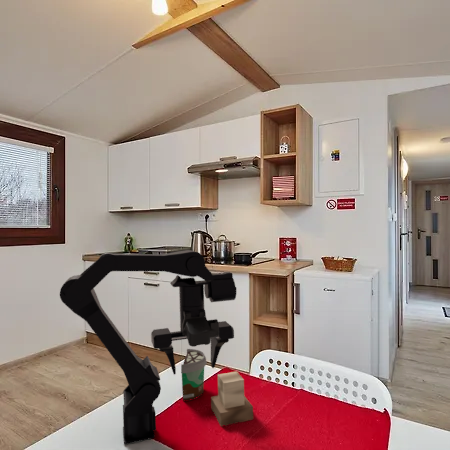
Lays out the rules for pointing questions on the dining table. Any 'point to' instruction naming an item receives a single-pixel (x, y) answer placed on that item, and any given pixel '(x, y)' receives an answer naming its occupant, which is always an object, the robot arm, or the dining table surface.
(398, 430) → the dining table surface
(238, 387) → the birch block
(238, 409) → the walnut base
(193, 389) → the food container
